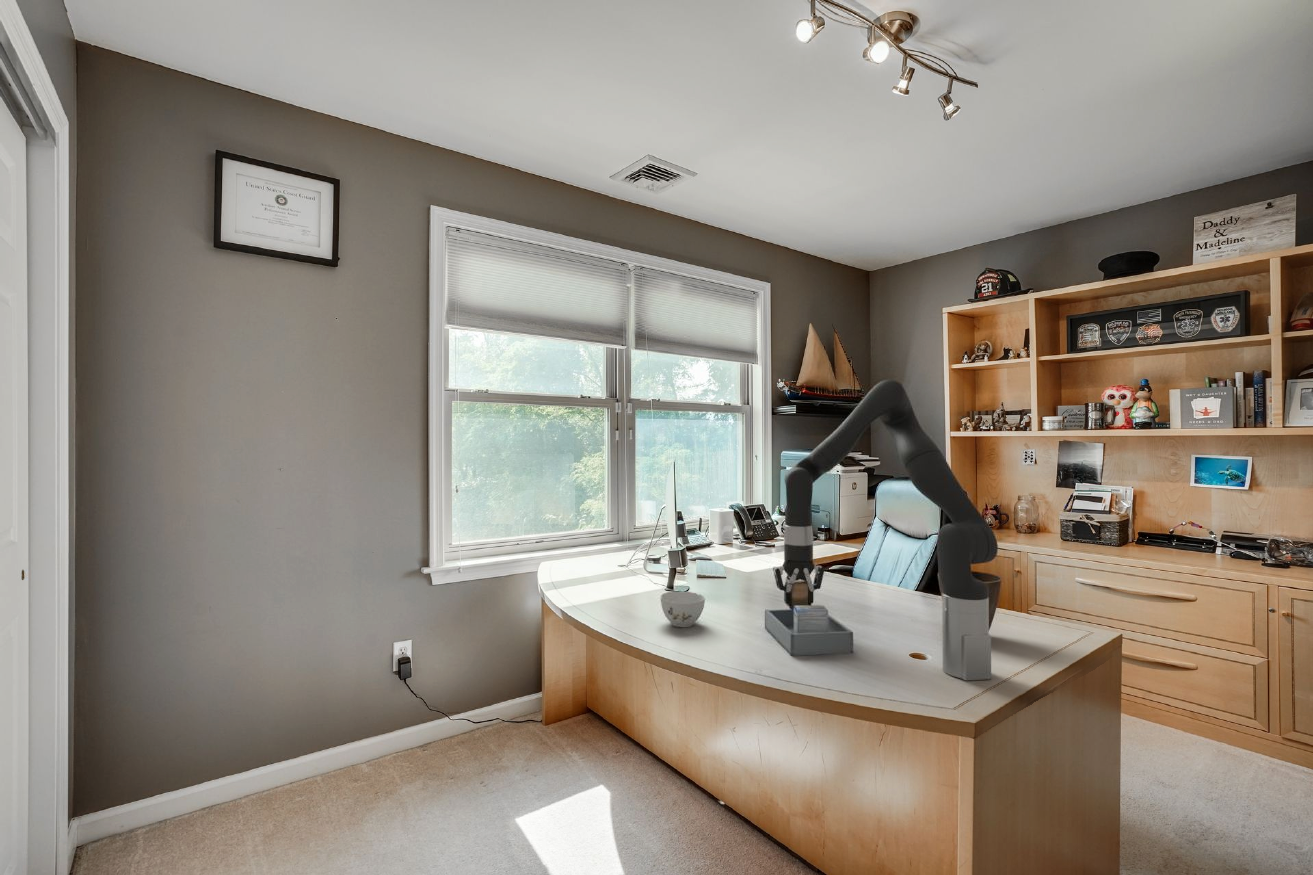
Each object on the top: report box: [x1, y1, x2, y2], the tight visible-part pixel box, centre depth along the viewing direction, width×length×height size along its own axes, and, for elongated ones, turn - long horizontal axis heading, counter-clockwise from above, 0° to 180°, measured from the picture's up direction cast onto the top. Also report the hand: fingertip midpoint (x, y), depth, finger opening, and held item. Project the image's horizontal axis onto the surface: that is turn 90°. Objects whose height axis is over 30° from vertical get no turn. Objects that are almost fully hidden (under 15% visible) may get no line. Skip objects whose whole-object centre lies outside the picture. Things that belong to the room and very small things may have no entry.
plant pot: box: [937, 570, 1002, 631], centre depth 162 cm, size 15×15×16 cm
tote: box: [764, 608, 854, 657], centre depth 160 cm, size 22×16×5 cm
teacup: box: [660, 590, 706, 628], centre depth 175 cm, size 15×12×8 cm
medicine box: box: [794, 604, 829, 634], centre depth 157 cm, size 8×4×9 cm, turn 89°
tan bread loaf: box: [788, 580, 808, 610], centre depth 167 cm, size 5×5×7 cm
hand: (798, 604), depth 167 cm, fingers closed on tan bread loaf, 5 cm apart
